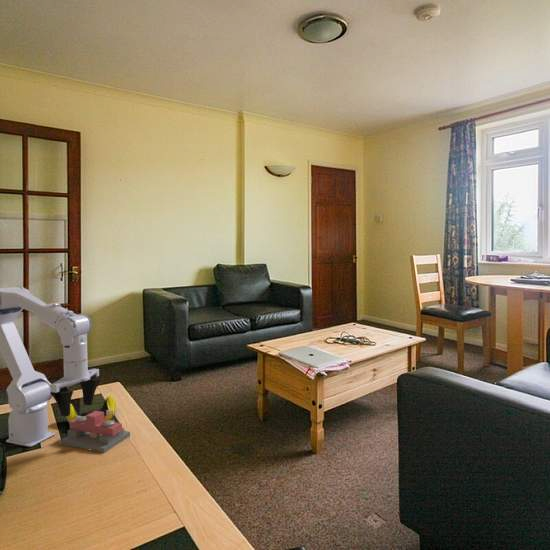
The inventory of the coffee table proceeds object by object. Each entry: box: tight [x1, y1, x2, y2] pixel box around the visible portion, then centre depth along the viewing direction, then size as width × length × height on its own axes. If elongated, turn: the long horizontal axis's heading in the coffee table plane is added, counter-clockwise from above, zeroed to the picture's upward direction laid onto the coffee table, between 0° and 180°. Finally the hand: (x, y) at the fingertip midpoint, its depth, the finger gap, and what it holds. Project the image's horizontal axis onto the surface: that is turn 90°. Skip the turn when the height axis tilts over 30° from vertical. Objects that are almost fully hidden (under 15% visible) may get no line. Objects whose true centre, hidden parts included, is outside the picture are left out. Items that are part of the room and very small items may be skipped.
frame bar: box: [69, 410, 123, 436], centre depth 107 cm, size 15×4×4 cm, turn 71°
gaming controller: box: [63, 395, 117, 424], centre depth 120 cm, size 15×6×10 cm
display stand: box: [59, 427, 131, 453], centre depth 107 cm, size 15×10×3 cm, turn 71°
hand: (77, 409), depth 103 cm, fingers open, 7 cm apart
